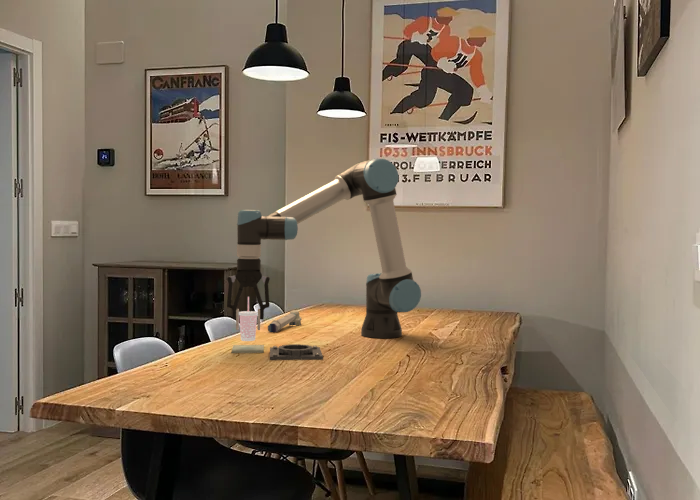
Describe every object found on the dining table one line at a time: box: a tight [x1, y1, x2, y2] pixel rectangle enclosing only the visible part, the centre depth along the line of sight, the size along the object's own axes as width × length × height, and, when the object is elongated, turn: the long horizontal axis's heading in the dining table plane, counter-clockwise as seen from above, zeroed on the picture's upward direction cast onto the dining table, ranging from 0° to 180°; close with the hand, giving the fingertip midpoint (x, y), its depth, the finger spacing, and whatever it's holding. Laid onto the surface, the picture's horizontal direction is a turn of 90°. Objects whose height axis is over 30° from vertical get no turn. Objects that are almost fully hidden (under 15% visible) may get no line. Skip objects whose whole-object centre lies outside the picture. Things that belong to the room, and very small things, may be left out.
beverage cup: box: [239, 296, 258, 342], centre depth 224 cm, size 6×6×14 cm
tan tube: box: [267, 309, 303, 333], centre depth 274 cm, size 5×7×25 cm
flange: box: [269, 343, 324, 361], centre depth 217 cm, size 16×16×2 cm
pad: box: [231, 344, 265, 354], centre depth 224 cm, size 10×10×1 cm
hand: (248, 329), depth 224 cm, fingers closed on beverage cup, 6 cm apart
